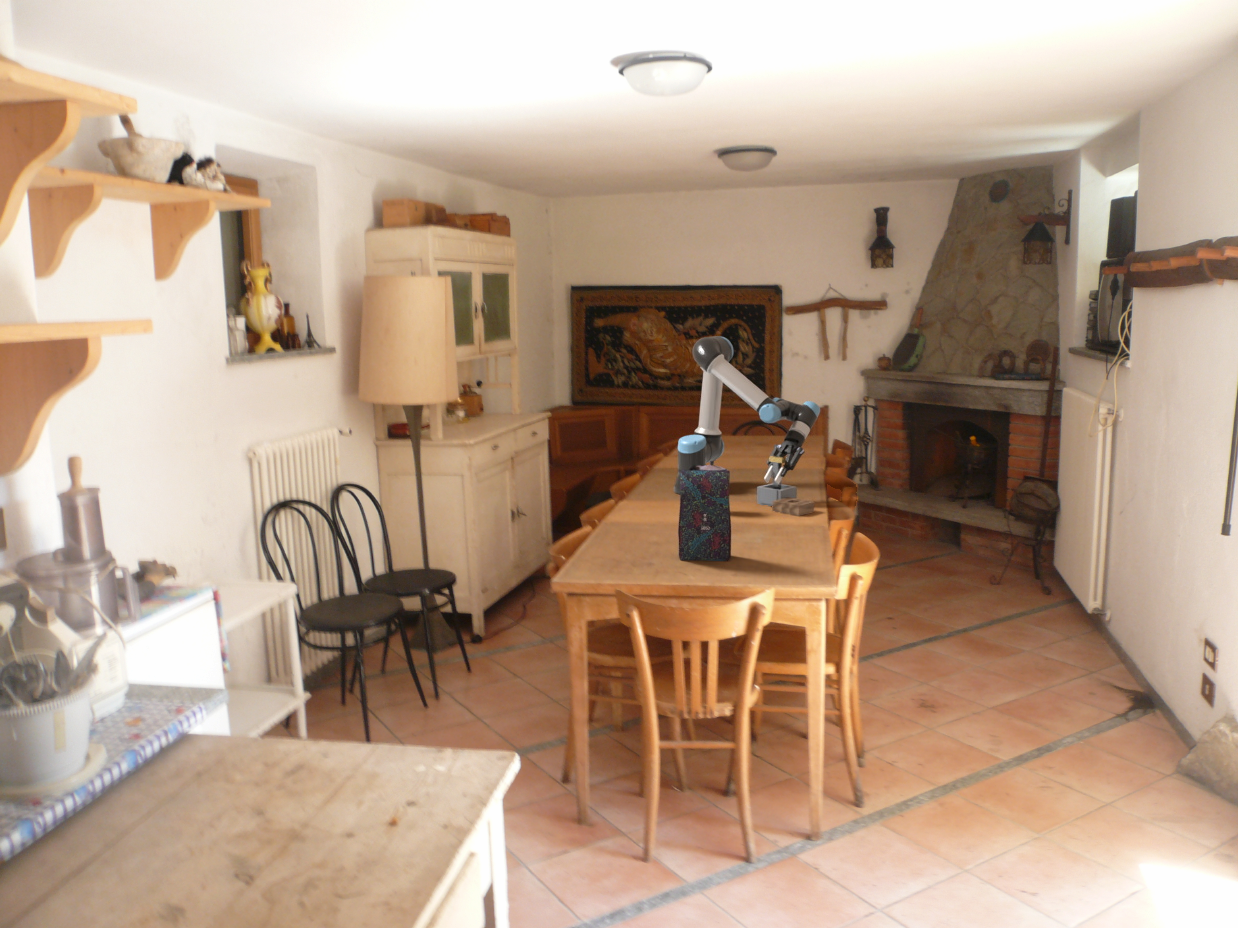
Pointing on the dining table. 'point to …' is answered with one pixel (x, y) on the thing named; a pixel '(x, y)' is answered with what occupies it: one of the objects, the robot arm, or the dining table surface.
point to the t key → (776, 468)
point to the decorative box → (704, 515)
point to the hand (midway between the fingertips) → (771, 481)
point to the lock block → (793, 506)
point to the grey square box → (774, 493)
